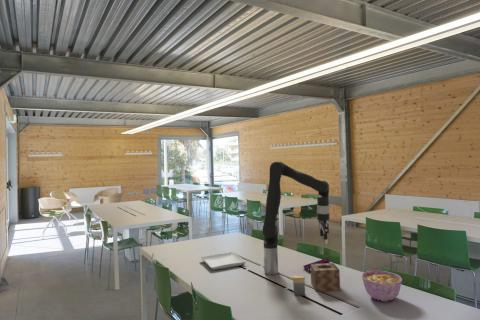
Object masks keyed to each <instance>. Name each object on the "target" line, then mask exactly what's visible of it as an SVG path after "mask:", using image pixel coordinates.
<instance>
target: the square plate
mask: <svg viewBox="0 0 480 320" xmlns="http://www.w3.org/2000/svg"><path fill="white" fill-rule="evenodd" d="M199 258H200V260H201V261H202V262H204V263H205V264H206V265H208V267H210V268H211V269H212V270H213V271H214V270H221V269H227V268H228V269H229V268H233V267H238V266H242V265H245V264H246V263H247V261H246V260H245V259H243V258H241V257H240V256H239V255H237V254H236V253H234V252H224V253H217V254H213V255H212V254H211V255H205V256H201V257H199Z"/></svg>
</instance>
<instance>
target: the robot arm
mask: <svg viewBox="0 0 480 320" xmlns="http://www.w3.org/2000/svg"><path fill="white" fill-rule="evenodd" d="M282 176H284V177H288V178H290V179H291V180H294V181H296V182H298V183H299V184H302V185H304V186H306V187H308V188H311V189H313V190H314V191H316V192H317V194H318V195H317V200H316V201H317V202H316V203H317V206H316V207H317V208H316V219H317V220H318V230H319V236H320V237H323V240H326V241H327V240H328V234H329V232H330V230H329V229H330V227H329V223H328V222H327V221H329V220H330V204H329V201H330V199H329V192H330V184H329V183H328V181H326V180H320V179H318V178H316V177H314V176H311V175H310V174H307V173H304V172H301V171H299V170H296V169H294V168H292V167H290V166H288V165H287V164H285V163H283V162H282V161H278V160H277V161H274V162H272V163H271V164H270V166H269V183H268V187H267V193H266V203H265V214H264V215H265V216H264V217H265V218H264V222H263V226H262V230H261V231H262V235H263V236H264V237H263V239H264V240H263V266H264V267H263V270H264V274H265V275H271V276H273V275H277V274H278V273H279V254H278V249H279V248H278V241H279V237H278V235H279V233H278V227H277V225H276V223H277V216H278V214H279V213H278V212H279V209H280V205H281V199H282V192H281V179H282Z"/></svg>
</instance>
